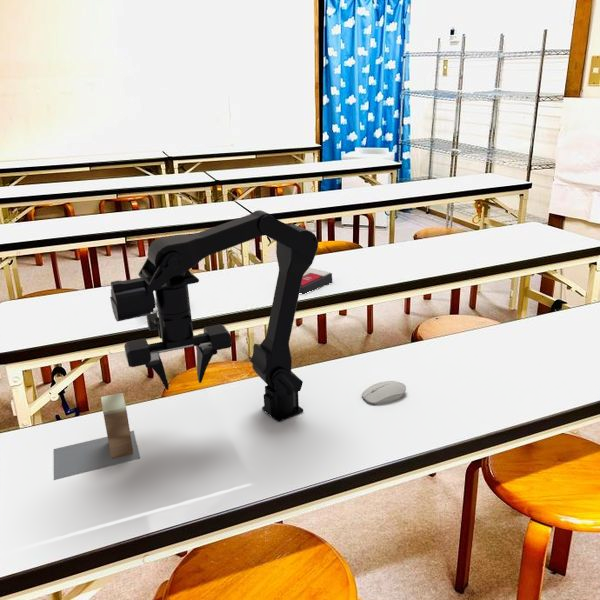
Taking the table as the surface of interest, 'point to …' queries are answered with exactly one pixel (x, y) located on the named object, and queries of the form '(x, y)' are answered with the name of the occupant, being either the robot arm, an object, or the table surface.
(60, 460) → the felt mat
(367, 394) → the computer mouse
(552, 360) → the table surface
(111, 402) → the walnut block
